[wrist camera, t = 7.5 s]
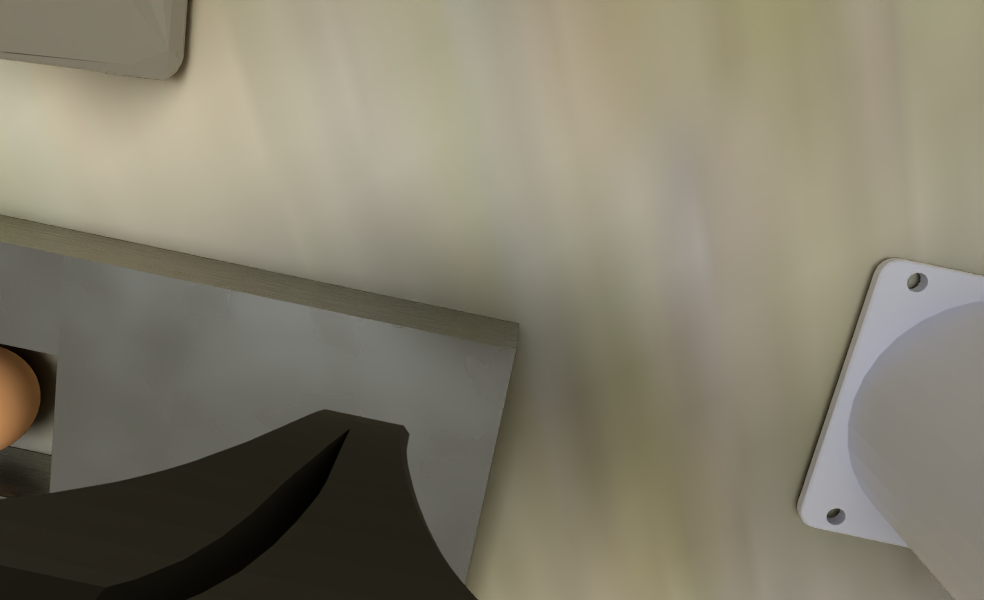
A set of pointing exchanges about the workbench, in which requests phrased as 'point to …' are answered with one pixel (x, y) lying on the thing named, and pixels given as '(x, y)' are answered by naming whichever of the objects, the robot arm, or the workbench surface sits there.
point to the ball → (16, 397)
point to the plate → (241, 368)
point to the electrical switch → (96, 35)
